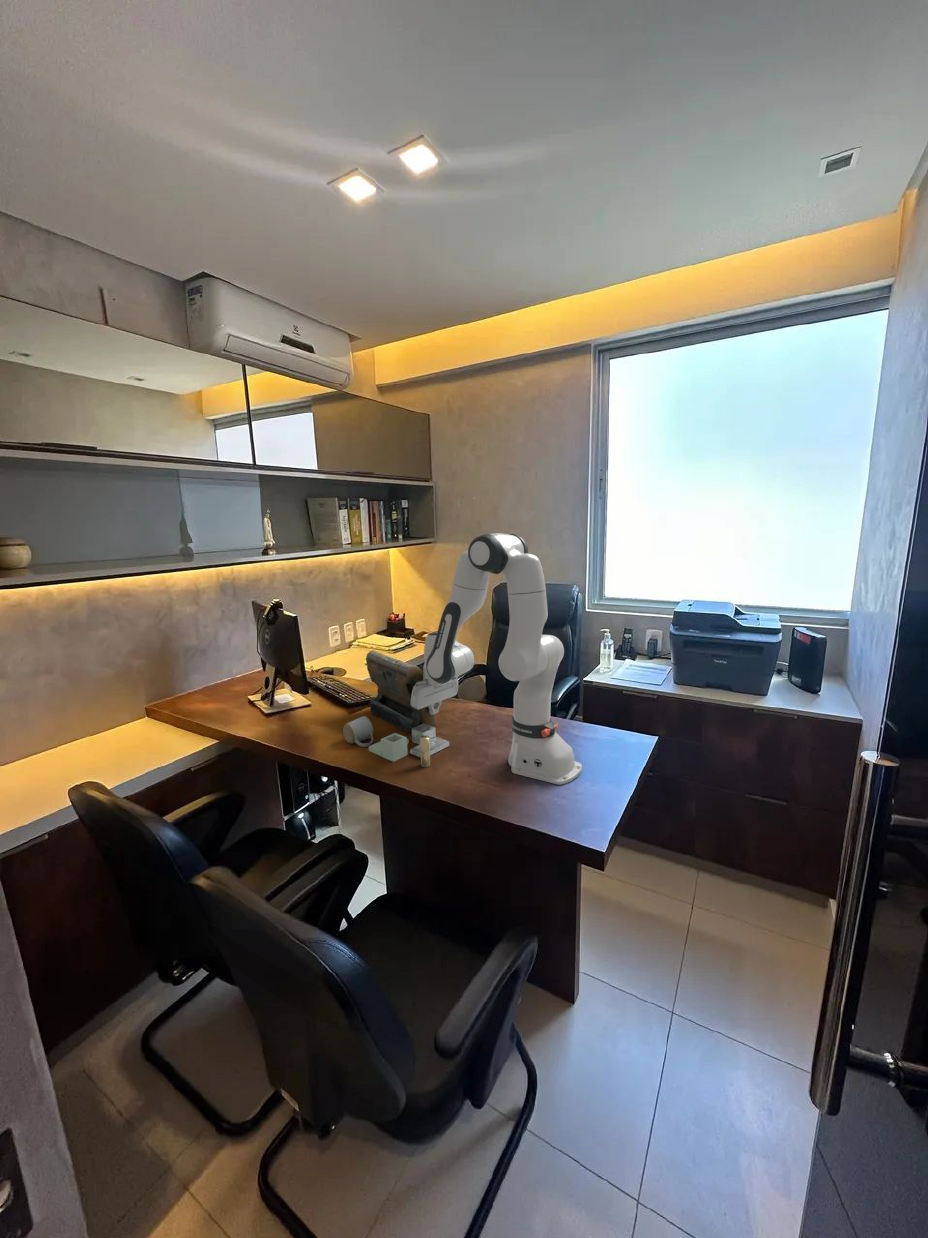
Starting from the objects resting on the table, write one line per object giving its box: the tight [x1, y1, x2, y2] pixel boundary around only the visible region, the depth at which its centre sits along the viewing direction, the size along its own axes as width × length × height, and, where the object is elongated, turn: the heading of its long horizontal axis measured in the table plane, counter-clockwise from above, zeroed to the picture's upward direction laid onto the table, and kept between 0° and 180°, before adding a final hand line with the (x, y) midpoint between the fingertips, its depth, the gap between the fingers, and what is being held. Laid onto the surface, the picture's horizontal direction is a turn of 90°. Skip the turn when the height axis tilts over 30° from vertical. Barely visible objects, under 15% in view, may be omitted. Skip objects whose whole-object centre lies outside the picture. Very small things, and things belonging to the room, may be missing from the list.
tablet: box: [365, 649, 438, 735], centre depth 183 cm, size 33×14×25 cm, turn 45°
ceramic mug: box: [342, 715, 374, 748], centre depth 166 cm, size 11×8×8 cm
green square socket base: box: [368, 732, 410, 763], centre depth 160 cm, size 12×12×6 cm
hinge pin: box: [420, 736, 431, 768], centre depth 149 cm, size 3×3×9 cm
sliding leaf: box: [409, 723, 450, 759], centre depth 161 cm, size 12×12×5 cm
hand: (434, 713), depth 172 cm, fingers closed
